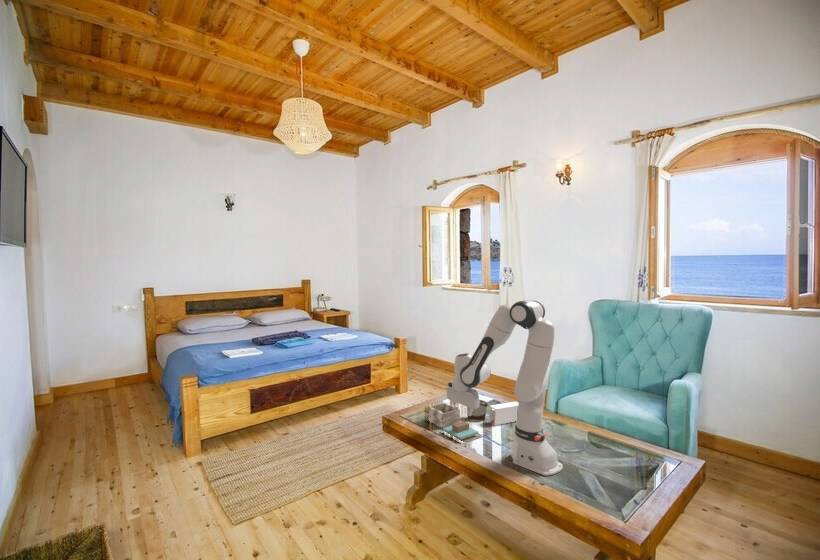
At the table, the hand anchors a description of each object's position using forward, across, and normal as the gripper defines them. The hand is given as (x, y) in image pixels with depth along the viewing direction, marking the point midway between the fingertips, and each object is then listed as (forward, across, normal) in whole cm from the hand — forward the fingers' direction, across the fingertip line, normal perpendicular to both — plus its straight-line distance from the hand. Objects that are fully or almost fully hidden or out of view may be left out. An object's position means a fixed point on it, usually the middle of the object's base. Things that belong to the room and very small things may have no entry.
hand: (462, 412), depth 201 cm
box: (+11, +17, -3) cm, 21 cm away
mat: (+12, +1, 0) cm, 12 cm away
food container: (+12, +12, -23) cm, 28 cm away
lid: (+11, +1, 0) cm, 11 cm away
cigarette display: (+12, 0, -33) cm, 35 cm away
